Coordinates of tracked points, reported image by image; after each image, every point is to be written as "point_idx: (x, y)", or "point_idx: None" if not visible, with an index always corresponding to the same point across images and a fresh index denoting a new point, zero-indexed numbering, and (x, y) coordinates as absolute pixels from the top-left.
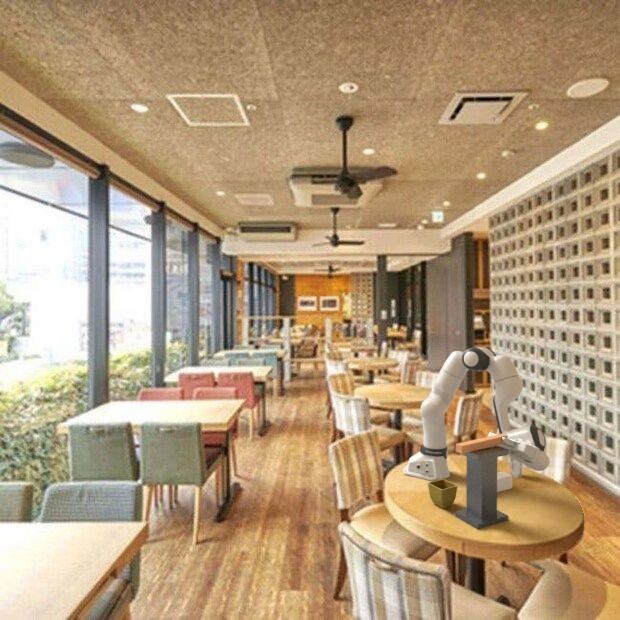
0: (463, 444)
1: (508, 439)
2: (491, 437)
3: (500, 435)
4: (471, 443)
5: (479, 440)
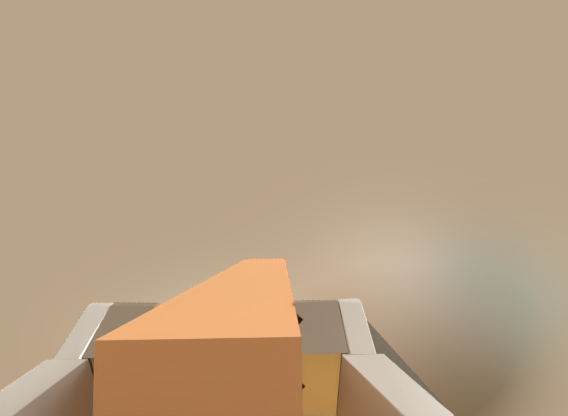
0: (257, 260)
1: (34, 375)
2: (245, 284)
3: (218, 309)
4: (242, 263)
5: (253, 269)
